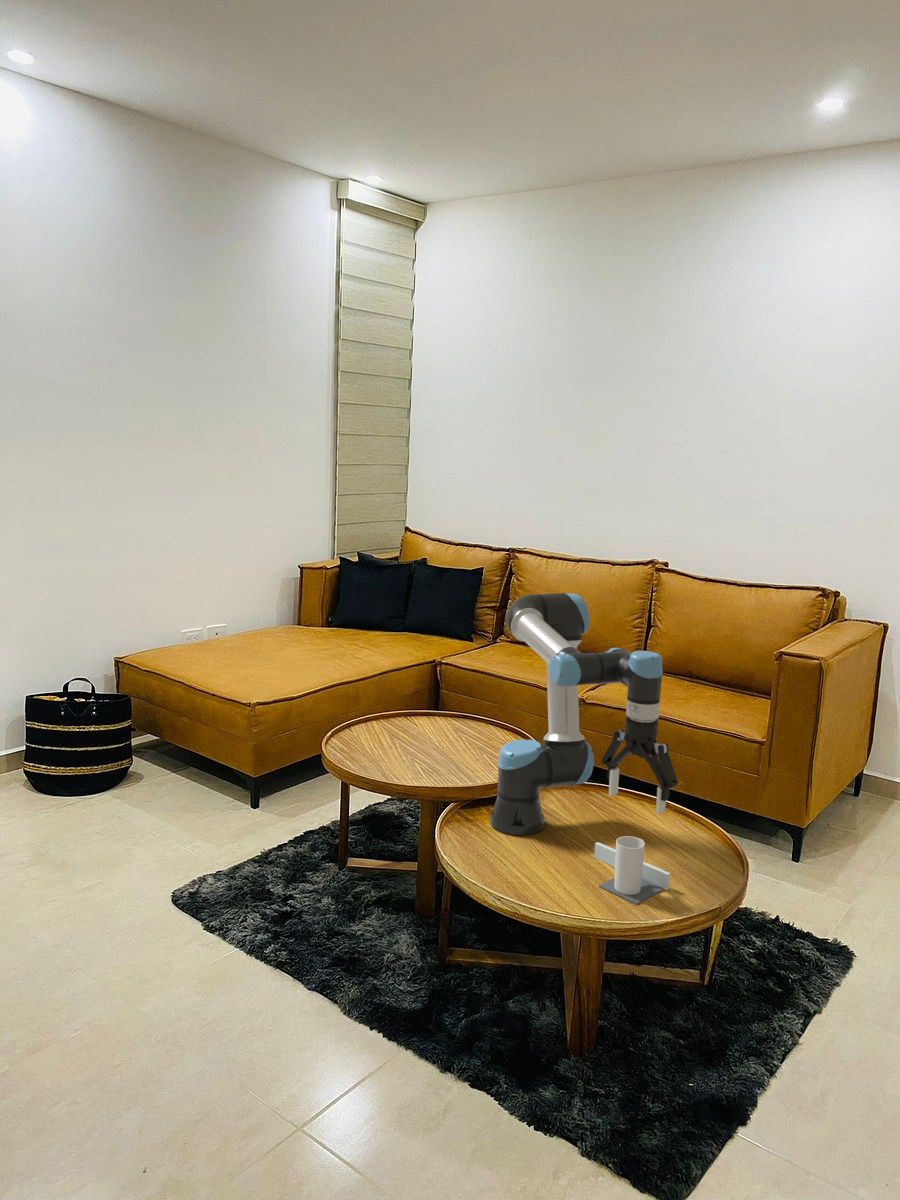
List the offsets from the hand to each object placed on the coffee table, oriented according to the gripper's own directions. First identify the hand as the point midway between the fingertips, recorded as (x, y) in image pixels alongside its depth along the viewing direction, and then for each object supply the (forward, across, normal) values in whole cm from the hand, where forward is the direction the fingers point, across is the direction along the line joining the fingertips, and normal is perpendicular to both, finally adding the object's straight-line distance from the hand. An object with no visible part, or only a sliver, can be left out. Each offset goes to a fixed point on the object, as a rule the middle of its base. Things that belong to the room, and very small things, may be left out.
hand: (636, 803), depth 213 cm
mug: (+22, 0, 0) cm, 22 cm away
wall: (+22, -4, +6) cm, 23 cm away
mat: (+22, 0, 0) cm, 22 cm away
